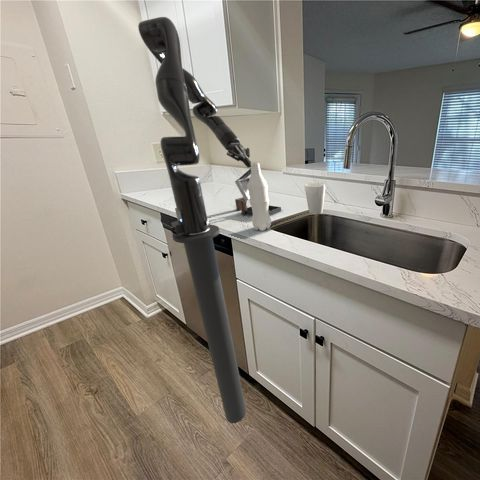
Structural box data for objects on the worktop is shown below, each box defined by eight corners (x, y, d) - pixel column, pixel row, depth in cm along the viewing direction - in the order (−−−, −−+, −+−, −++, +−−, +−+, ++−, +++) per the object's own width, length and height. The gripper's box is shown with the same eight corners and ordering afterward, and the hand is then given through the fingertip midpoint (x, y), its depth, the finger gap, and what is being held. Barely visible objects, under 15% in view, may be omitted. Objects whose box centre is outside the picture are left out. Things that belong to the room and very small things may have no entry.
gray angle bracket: (261, 198, 128) (274, 188, 122) (244, 203, 119) (258, 193, 113) (249, 177, 127) (262, 165, 121) (231, 180, 118) (244, 169, 112)
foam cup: (307, 216, 116) (306, 187, 111) (304, 210, 125) (303, 183, 119) (328, 214, 118) (327, 185, 113) (323, 209, 126) (323, 182, 121)
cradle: (265, 207, 131) (264, 194, 128) (244, 215, 119) (242, 200, 117) (250, 205, 136) (248, 192, 133) (229, 212, 124) (226, 198, 121)
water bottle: (260, 233, 98) (252, 164, 88) (249, 229, 102) (240, 163, 92) (275, 227, 103) (269, 162, 93) (264, 224, 107) (257, 161, 97)
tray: (281, 210, 125) (281, 207, 124) (264, 217, 115) (264, 213, 115) (259, 207, 131) (258, 203, 131) (241, 213, 122) (241, 209, 121)
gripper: (234, 143, 126) (256, 170, 125) (211, 144, 115) (235, 173, 114) (240, 130, 121) (263, 158, 120) (218, 131, 110) (243, 161, 109)
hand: (250, 166), depth 117 cm, fingers closed
